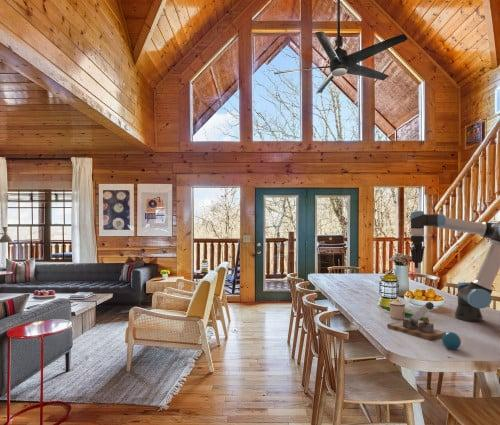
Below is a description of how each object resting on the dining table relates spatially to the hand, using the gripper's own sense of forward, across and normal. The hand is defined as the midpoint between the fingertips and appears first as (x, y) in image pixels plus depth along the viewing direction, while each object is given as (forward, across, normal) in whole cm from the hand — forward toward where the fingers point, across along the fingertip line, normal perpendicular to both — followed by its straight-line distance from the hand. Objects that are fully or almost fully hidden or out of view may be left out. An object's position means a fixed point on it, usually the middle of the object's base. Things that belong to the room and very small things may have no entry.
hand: (417, 273), depth 215 cm
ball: (+30, +33, +37) cm, 58 cm away
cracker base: (+29, +23, +12) cm, 39 cm away
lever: (+26, +23, +9) cm, 35 cm away
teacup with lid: (+30, +4, -12) cm, 32 cm away
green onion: (+30, -2, -11) cm, 32 cm away
